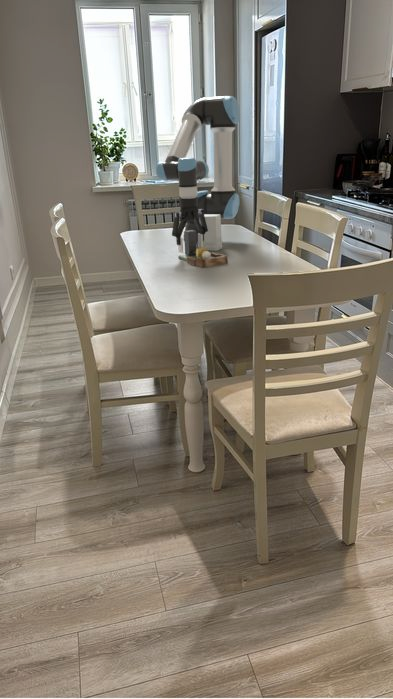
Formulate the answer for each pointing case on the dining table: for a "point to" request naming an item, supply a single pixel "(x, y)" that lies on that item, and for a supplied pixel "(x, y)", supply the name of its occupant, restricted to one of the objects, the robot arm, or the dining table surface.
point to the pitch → (205, 260)
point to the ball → (206, 255)
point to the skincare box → (213, 232)
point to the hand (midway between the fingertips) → (190, 250)
